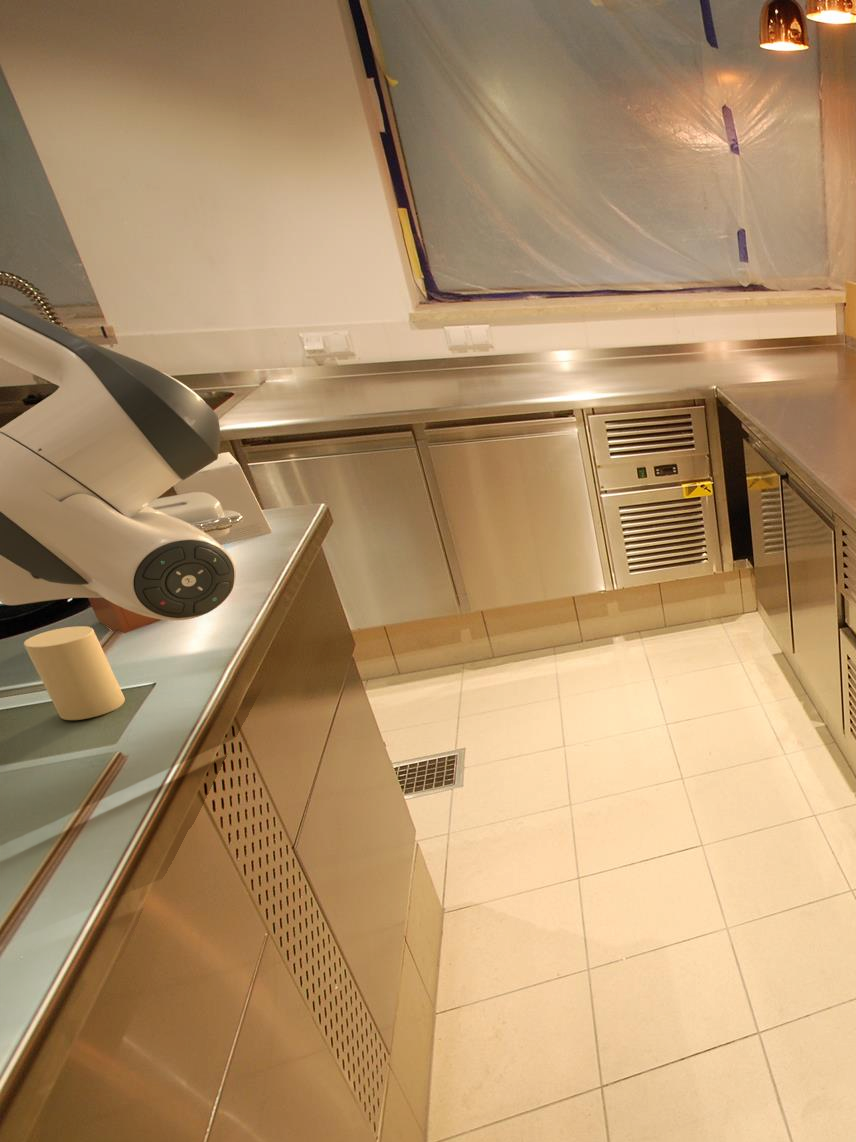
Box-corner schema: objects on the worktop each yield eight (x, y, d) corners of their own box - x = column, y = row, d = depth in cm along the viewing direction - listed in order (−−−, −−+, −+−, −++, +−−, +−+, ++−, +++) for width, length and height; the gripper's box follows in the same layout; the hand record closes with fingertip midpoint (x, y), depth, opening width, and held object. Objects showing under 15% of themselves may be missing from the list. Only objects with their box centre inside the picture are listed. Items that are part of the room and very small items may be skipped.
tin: (99, 624, 114) (72, 564, 111) (201, 598, 123) (180, 542, 119) (128, 643, 109) (101, 581, 106) (232, 614, 118) (210, 556, 114)
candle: (69, 725, 91) (32, 651, 87) (52, 711, 94) (16, 638, 90) (133, 705, 95) (100, 633, 91) (115, 692, 98) (83, 622, 94)
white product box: (270, 532, 147) (231, 450, 139) (281, 548, 141) (240, 462, 133) (206, 548, 141) (161, 463, 133) (214, 565, 136) (168, 477, 128)
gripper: (239, 489, 85) (183, 470, 91) (-57, 542, 69) (-99, 514, 75) (260, 548, 87) (204, 525, 94) (-20, 612, 71) (-64, 580, 78)
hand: (67, 521), depth 84 cm, fingers closed
